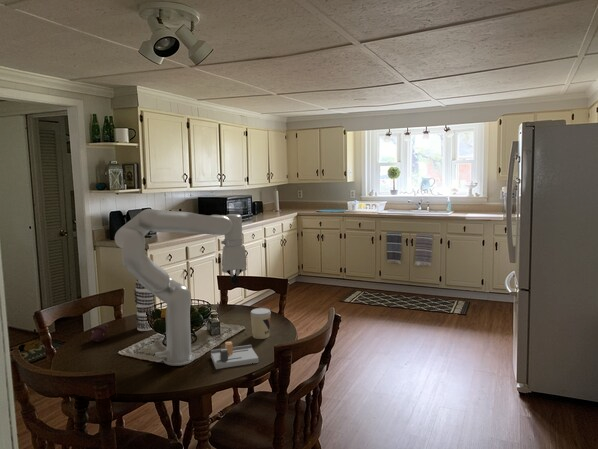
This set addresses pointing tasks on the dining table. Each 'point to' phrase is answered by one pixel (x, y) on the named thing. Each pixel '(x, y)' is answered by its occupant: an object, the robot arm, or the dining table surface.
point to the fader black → (223, 354)
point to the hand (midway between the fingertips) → (234, 284)
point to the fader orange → (229, 347)
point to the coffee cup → (260, 323)
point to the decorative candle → (143, 306)
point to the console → (235, 357)
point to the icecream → (99, 333)
